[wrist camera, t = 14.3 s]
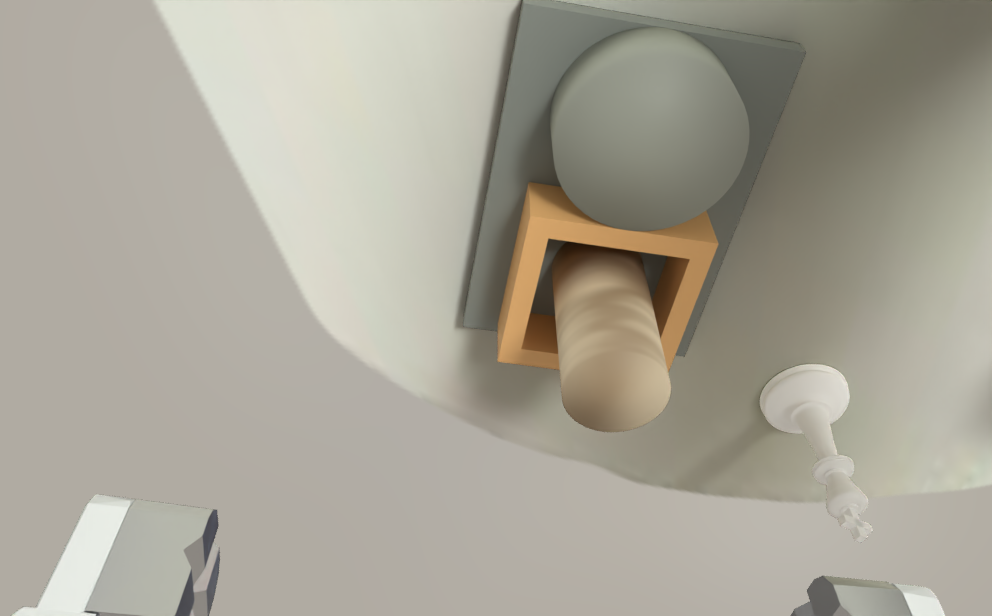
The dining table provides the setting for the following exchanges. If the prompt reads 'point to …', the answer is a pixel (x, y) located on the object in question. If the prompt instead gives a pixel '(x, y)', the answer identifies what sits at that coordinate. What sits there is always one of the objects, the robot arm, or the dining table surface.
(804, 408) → the chess piece
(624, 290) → the wooden peg
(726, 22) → the dining table surface
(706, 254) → the base
